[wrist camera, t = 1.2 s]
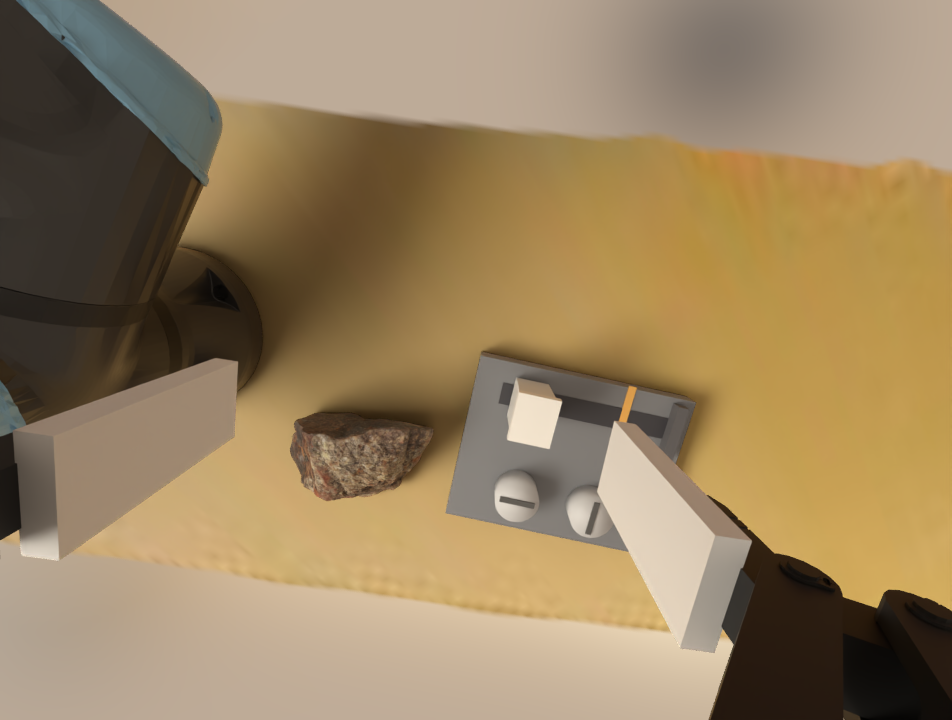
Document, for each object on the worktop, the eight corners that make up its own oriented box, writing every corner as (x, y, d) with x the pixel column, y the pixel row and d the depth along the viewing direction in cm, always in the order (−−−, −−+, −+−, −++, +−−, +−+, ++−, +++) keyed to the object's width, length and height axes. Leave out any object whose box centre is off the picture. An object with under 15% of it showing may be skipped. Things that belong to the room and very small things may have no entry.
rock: (299, 385, 44) (296, 477, 46) (245, 412, 35) (245, 523, 37) (442, 405, 42) (433, 499, 44) (422, 437, 34) (412, 551, 36)
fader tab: (504, 416, 40) (507, 440, 34) (514, 374, 39) (519, 392, 34) (540, 423, 40) (549, 449, 34) (551, 382, 39) (562, 401, 34)
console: (447, 502, 44) (443, 528, 40) (481, 349, 41) (481, 359, 37) (638, 542, 45) (654, 572, 40) (687, 394, 42) (711, 409, 37)
